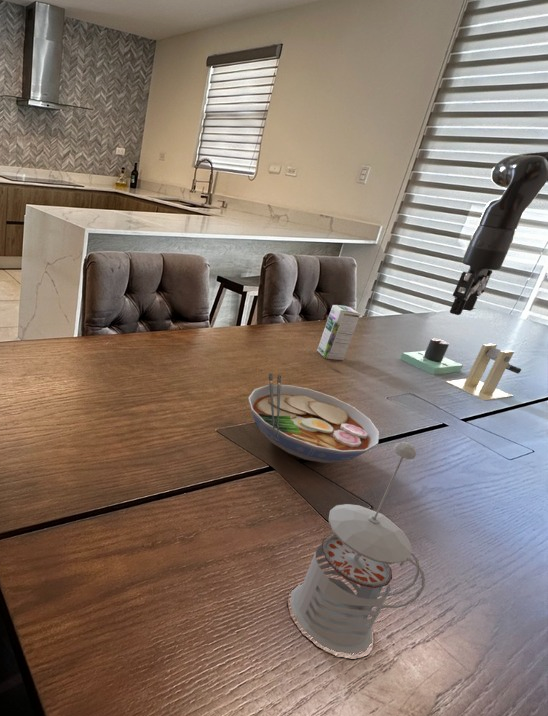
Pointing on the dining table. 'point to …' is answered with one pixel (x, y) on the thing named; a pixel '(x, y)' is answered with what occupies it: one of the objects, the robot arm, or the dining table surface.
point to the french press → (353, 574)
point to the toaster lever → (493, 355)
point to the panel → (431, 363)
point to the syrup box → (338, 332)
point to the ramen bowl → (311, 423)
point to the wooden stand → (488, 387)
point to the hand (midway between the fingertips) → (460, 311)
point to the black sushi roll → (436, 350)
